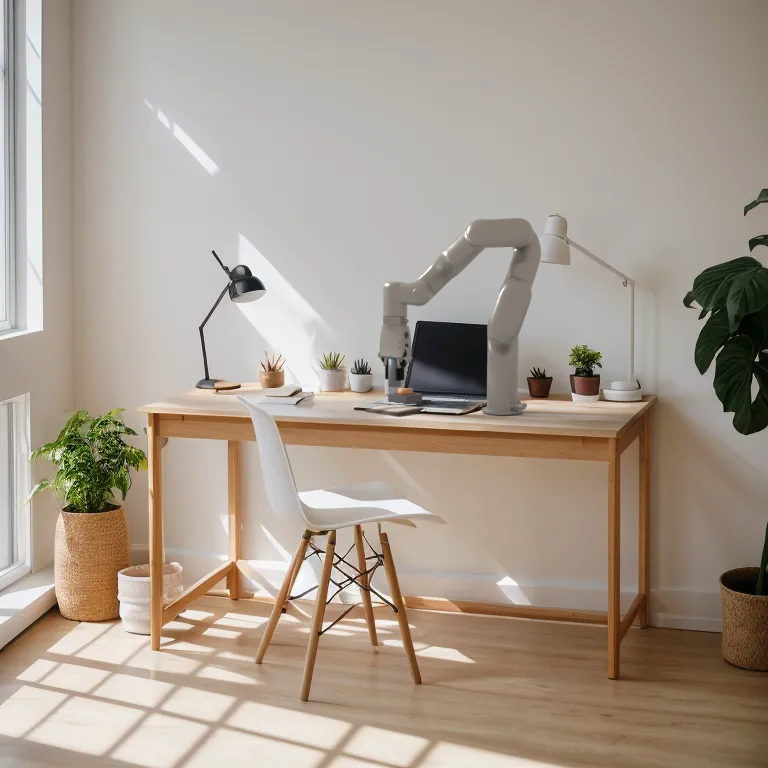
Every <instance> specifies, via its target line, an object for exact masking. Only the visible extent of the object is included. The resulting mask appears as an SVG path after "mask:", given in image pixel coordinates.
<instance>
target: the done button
mask: <svg viewBox="0 0 768 768" xmlns="http://www.w3.org/2000/svg"><path fill="white" fill-rule="evenodd" d="M413 393H414V387H413V388H398V395H404V396H407V395H413Z"/></svg>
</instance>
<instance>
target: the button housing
mask: <svg viewBox="0 0 768 768" xmlns="http://www.w3.org/2000/svg"><path fill="white" fill-rule="evenodd" d="M421 401H422V402H423V393H419V392H413V395H407V396H404V395H398V393H391V394H388V395H387V403H388V402H396V403H403V404H412V403H417V402H421Z"/></svg>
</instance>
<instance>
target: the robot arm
mask: <svg viewBox="0 0 768 768" xmlns="http://www.w3.org/2000/svg"><path fill="white" fill-rule="evenodd" d="M490 248H493V249H494V248H512V257H511V261H510V264H509V267H508V271H507V273H506V275H505V279H504V281H503V283H502V285H501V286H500V289H499V294H498V297H497V301H496V303H495V306H494V309H493V311H492V314H491V316H490V318H489V319H488V321H487V326H486V329H487V330H486V331H487V332H486V333H487V338H486V339H487V340H486V341H487V354H486V355H487V364H486V365H487V366H486V370H487V371H486V375H487V376H486V406H485V407H482V408H481V412H482V413H483V414H487V415H492V416H493V415H494V416H513V415H514V416H515V415H519V414H522V413H523V411H525V410H526V408H527V406H528V404H527V403H525V402H521V401H522V400H521V398H519V397H518V396H519V395H518V393H519V388H518V387H519V385H518V384H519V335H520V331H522V330H521V329H522V327H523V325H524V321H525V318H526V317H527V313H528V310H529V307H530V305H531V301H532V297H533V296H532V295H533V293H532V289H533V285H534V281H535V280H536V276H537V273H538V268H539V267H540V263H541V260H542V259H541V258H542V247H541V242H540V240H539V236H538V235H537V233H536V232H535V230H534V229H533V226H532V224H531V223H530V222H529V221H528V220H527V219H526V218H525V219H524V218H521V217H515V218H514V217H513V218H512V217H511V218H494V219H493V218H492V219H490V218H489V219H485V218H483V219H481V218H479V219H475V220H474V221H471V223H469V225H468V226H467V227H466V228H465V229H464V230H463V231H462V232H461V233H460V234H459V235H458V236H457V237H456V238H454V240H453V241H452V242H451V243H450V244H449V245H448V246H447V247H446V248H445V249H443V251H441V253H440V254H439V255H438V257H437V259H436V260H434V262H433V264H431V266H429V268H428V269H427V270H426V271H425V272H424V273H423V274H422V275H421V276H420V277H418V278H417V280H416V281H414V282H403V281H387V282H385V283H384V284H383V290H382V292H383V293H382V296H383V299H382V305H383V306H382V312H383V313H382V326H381V330H380V337H379V351H378V354H377V357H378V358H379V359H380V360H381V362H382V363H383V367H385V368H384V380H385V379H388V357H389V355H391V356H392V357H394V358H396V360H397V367H398V368H396V381H401V380H404V368H405V367H406V365H407V364H408V362H410V361H411V362H412V360H413V357H412V338H411V337H412V336H411V329H410V326H408V323H409V322H410V320H409V319H408V305H409V306H416V307H422V306H425V305H427V304H428V303H430V301H431V300H432V299H433V298H434V297H435V296H436V295H437V294H438V293H439V292H440V291H441V290H442V289H443V288H444V287H445V286H447V284H448V283H450V282H451V280H453V279H454V278H456V277H457V276H458V275H460V274H461V273H462V272H463V271H464V269H466V268H467V267H468V266H469V265H470V264H471V263H472V262H473V261H474V260H475V259H476V258H477V257H478V256H479V255H480V254H481V253H482V252H483V251H484V250H485V249H490ZM401 360H402V362H401Z"/></svg>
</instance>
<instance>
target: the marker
mask: <svg viewBox="0 0 768 768" xmlns="http://www.w3.org/2000/svg"><path fill="white" fill-rule="evenodd" d="M396 368H398V367H397V360H396V358H394V357H392V356H391V355H389V357H388V387H401V381H396Z"/></svg>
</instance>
